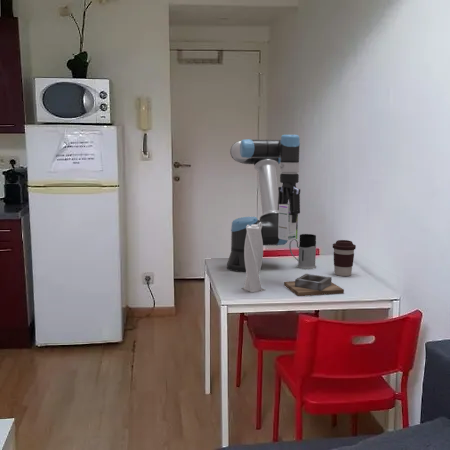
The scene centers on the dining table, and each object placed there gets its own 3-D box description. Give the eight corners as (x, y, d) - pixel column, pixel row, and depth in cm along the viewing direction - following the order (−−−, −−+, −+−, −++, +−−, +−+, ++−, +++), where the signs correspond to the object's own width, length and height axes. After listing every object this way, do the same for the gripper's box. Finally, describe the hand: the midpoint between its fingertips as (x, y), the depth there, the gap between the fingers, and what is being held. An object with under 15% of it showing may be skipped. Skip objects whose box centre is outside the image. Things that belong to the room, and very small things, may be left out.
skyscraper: (268, 291, 225) (269, 221, 221) (251, 294, 221) (252, 223, 216) (255, 286, 232) (257, 218, 228) (239, 289, 228) (240, 220, 223)
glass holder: (319, 268, 264) (321, 236, 262) (294, 271, 258) (295, 238, 256) (308, 264, 272) (310, 233, 270) (283, 267, 266) (284, 235, 263)
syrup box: (287, 240, 231) (288, 205, 229) (277, 238, 236) (278, 203, 234) (297, 239, 235) (298, 204, 232) (287, 237, 239) (288, 202, 237)
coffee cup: (354, 278, 247) (356, 243, 245) (331, 276, 249) (332, 242, 247) (354, 272, 257) (355, 239, 254) (331, 271, 259) (333, 238, 256)
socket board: (283, 285, 234) (284, 274, 233) (326, 282, 238) (327, 272, 238) (298, 296, 218) (298, 284, 218) (343, 293, 223) (344, 282, 222)
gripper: (269, 172, 239) (268, 226, 242) (293, 174, 221) (292, 233, 224) (285, 171, 242) (284, 225, 245) (310, 174, 224) (308, 232, 227)
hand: (288, 229), depth 235 cm, fingers closed on syrup box, 6 cm apart
